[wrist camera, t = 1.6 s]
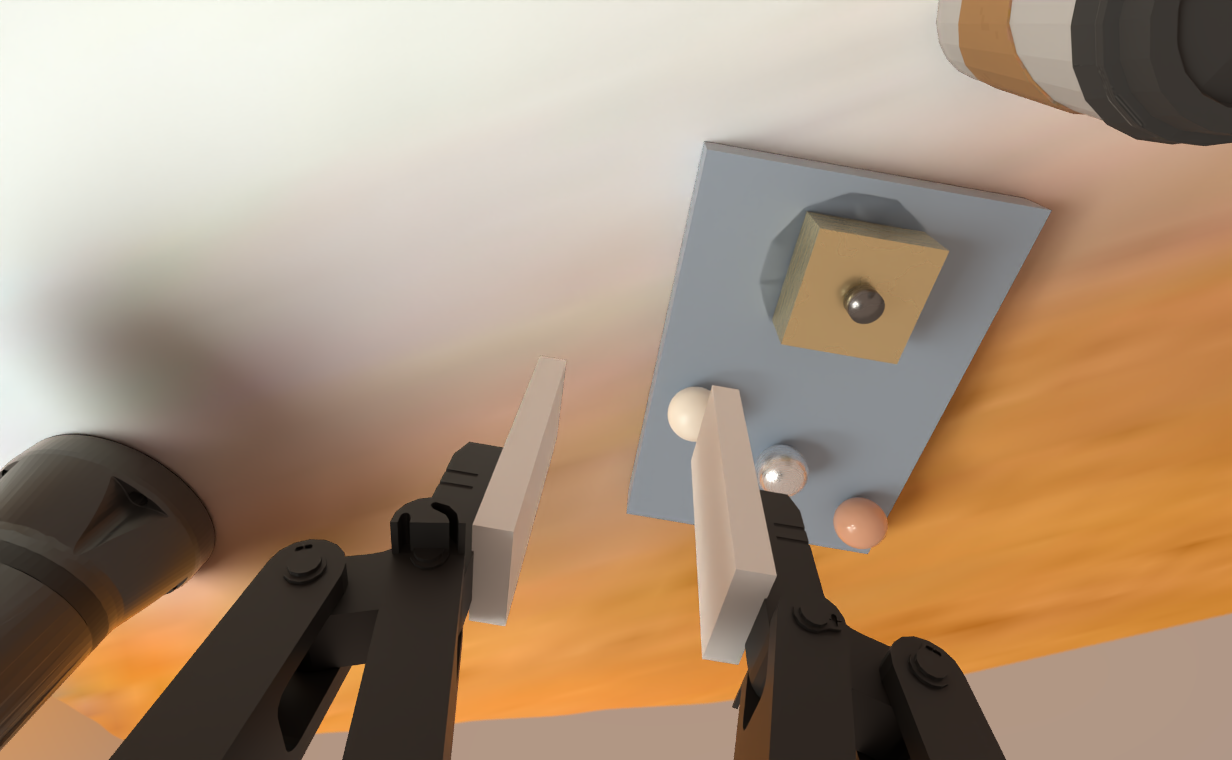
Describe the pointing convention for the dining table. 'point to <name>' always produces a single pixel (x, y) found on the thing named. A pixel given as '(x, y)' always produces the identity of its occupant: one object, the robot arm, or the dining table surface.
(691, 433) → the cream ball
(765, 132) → the dining table surface
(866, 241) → the brass cover
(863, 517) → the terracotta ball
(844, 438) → the board
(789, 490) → the steel ball
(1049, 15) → the coffee cup
